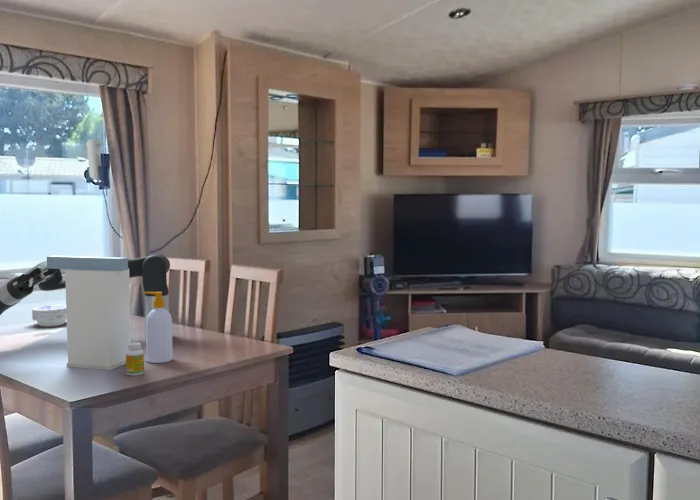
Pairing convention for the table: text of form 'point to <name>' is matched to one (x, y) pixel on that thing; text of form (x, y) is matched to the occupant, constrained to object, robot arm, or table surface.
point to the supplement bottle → (134, 359)
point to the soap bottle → (159, 332)
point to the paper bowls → (50, 315)
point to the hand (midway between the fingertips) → (49, 268)
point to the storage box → (97, 318)
